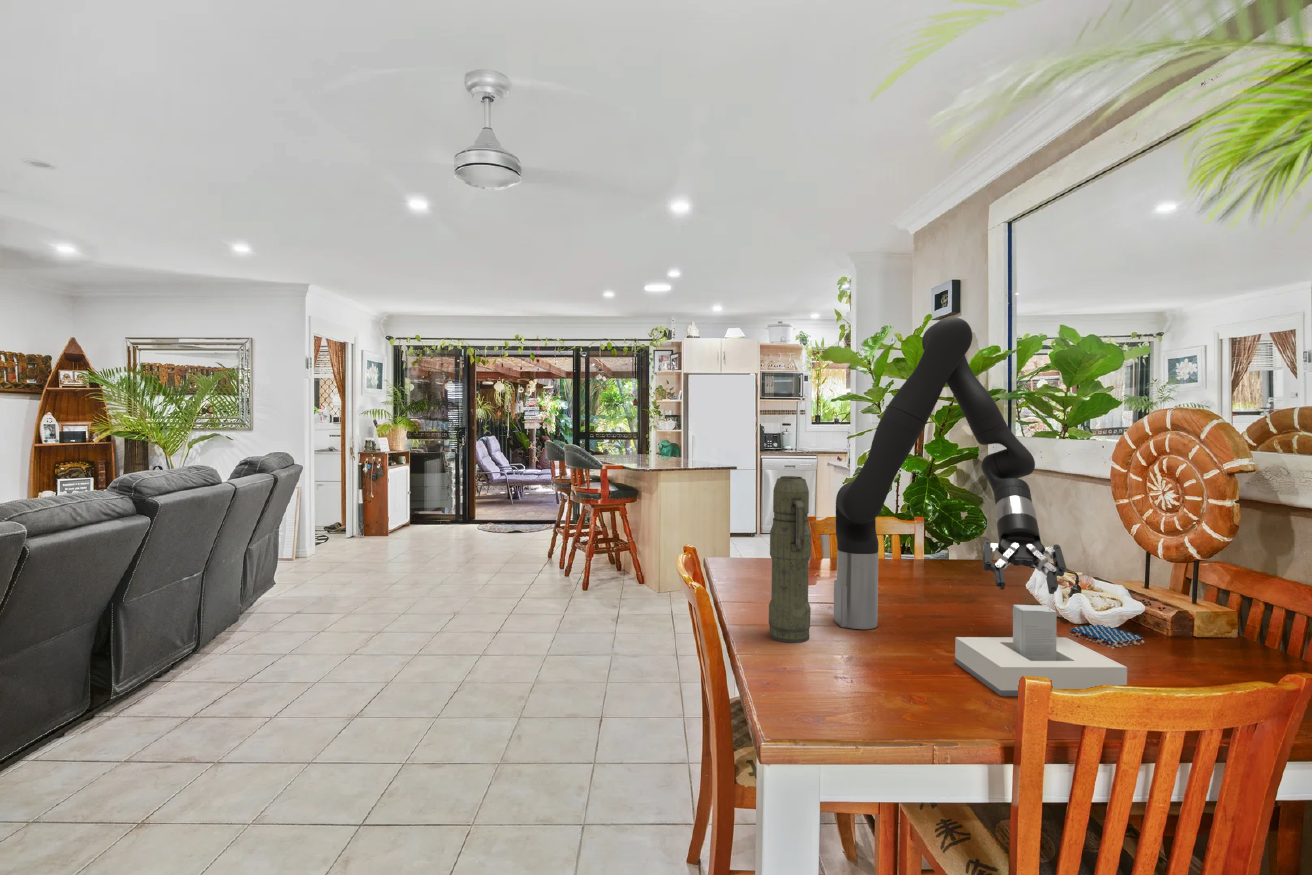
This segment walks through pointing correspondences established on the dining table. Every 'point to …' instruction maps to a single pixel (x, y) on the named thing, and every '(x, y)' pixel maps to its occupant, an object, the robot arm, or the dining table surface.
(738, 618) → the dining table surface
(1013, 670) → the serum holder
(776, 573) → the thermos
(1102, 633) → the woven mat
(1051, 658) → the skincare box
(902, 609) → the dining table surface
